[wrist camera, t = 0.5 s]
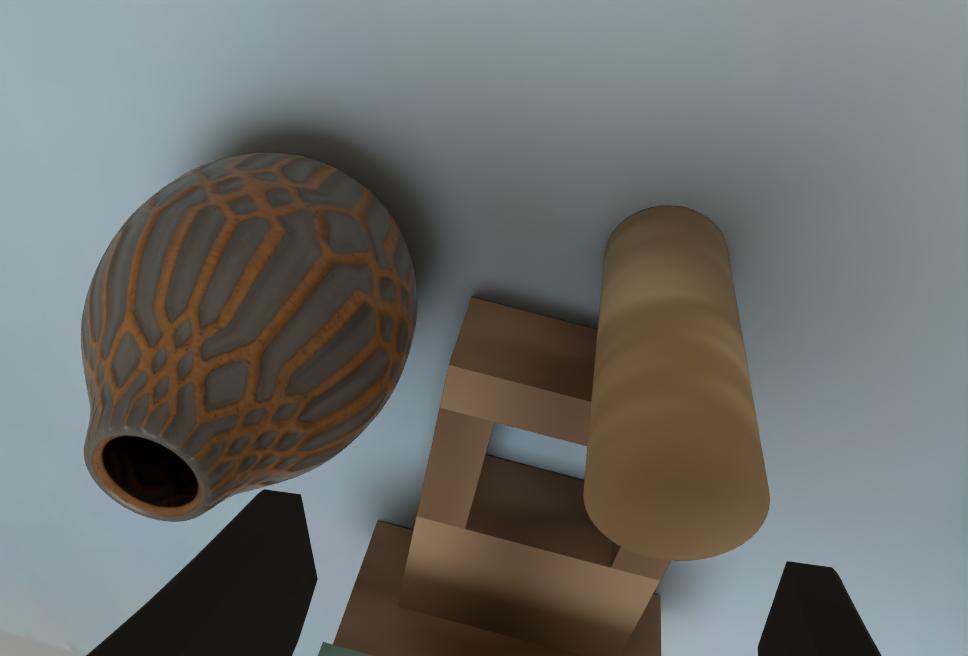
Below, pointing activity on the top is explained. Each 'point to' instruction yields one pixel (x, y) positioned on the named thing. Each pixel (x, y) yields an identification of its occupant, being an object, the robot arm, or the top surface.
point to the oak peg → (672, 395)
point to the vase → (241, 332)
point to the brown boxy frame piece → (504, 520)
